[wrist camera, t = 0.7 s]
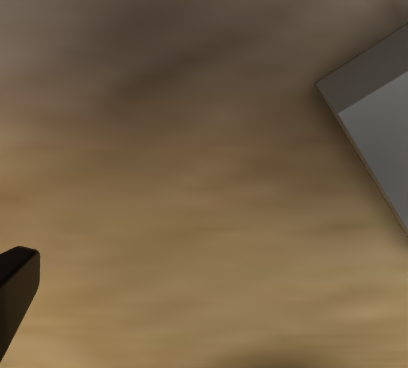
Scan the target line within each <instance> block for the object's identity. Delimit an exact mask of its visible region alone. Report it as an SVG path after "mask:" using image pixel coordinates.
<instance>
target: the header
mask: <svg viewBox="0 0 408 368" xmlns="http://www.w3.org/2000/svg"><path fill="white" fill-rule="evenodd" d="M315 84H316V86H317V88H318V89H319V91H320V93H321V94H322V96H323V98H324V99H325V101H326V103H327V104H328V106H329V108H330V109H331V111H332V113H333V114H334V116H335V118H336V119H337V121H338V123H339V124H340V126H341V127H342V129H343V131H344V132H345V134H346V136H347V137H348V139H349V141H350V142H351V144H352V146H353V147H354V149H355V151H356V152H357V154H358V156H359V157H360V159H361V161H362V162H363V164H364V166H365V167H366V169H367V171H368V172H369V174H370V176H371V177H372V179H373V181H374V182H375V184H376V186H377V187H378V189H379V190H380V192H381V194H382V195H383V197H384V199H385V200H386V202H387V204H388V205H389V207H390V209H391V210H392V212H393V214H394V215H395V217H396V219H397V220H398V222H399V224H400V225H401V227H402V229H403V230H404V232H405V234H406V235H407V237H408V24H406V25H405V26H403V27H401V28H400V29H398V30H397V31H395V32H394V33H392V34H391V35H389V36H388V37H386V38H384V39H383V40H381V41H380V42H378V43H377V44H375V45H374V46H372V47H371V48H369V49H368V50H366V51H364V52H363V53H361V54H360V55H358V56H357V57H355V58H354V59H352V60H351V61H349V62H348V63H346V64H344V65H343V66H341V67H340V68H338V69H337V70H335V71H334V72H332V73H331V74H329V75H327V76H326V77H324V78H323V79H321V80H320V81H318V82H317V83H315Z"/></svg>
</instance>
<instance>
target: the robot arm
mask: <svg viewBox="0 0 408 368" xmlns="http://www.w3.org/2000/svg"><path fill="white" fill-rule="evenodd" d="M39 281H40V253H39V251H37V250H36V249H31V248H27V247H23V246H17V247H14V248H12V249H10V250H8V251H6V252H3V253H1V254H0V362H1V360H2V358H3V357H4V355H5V353H6V351H7V349H8V347H9V345H10V343H11V341H12V339H13V337H14V335H15V333H16V331H17V329H18V327H19V325H20V323H21V321H22V320H23V318H24V316H25V314H26V312H27V310H28V308H29V306H30V304H31V302H32V300H33V298H34V296H35V294H36V292H37V289H38V286H39Z"/></svg>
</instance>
